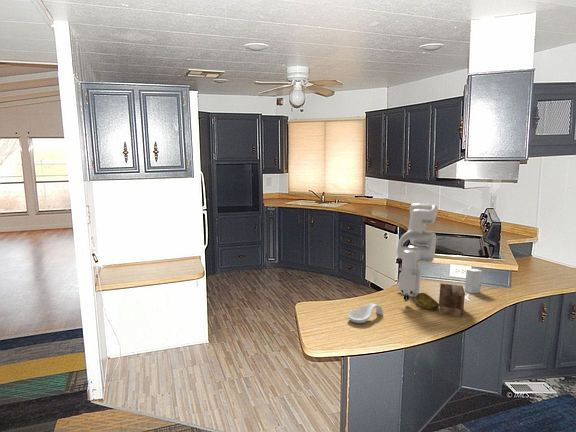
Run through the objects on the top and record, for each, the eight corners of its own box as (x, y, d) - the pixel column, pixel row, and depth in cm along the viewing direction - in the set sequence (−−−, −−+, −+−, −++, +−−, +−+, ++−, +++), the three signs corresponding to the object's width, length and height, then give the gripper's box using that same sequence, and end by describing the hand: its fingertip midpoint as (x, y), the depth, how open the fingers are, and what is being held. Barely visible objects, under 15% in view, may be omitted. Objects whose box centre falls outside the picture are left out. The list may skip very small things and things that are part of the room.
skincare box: (471, 293, 271) (473, 271, 269) (464, 290, 277) (466, 269, 275) (480, 292, 275) (483, 270, 272) (473, 289, 280) (475, 268, 278)
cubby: (439, 313, 237) (441, 290, 235) (438, 305, 251) (440, 283, 248) (462, 316, 233) (464, 293, 231) (460, 307, 247) (462, 285, 245)
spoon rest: (359, 328, 216) (360, 314, 215) (342, 320, 225) (343, 307, 224) (387, 317, 231) (388, 304, 230) (371, 310, 240) (371, 298, 239)
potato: (430, 312, 238) (431, 299, 237) (413, 305, 249) (414, 292, 248) (440, 310, 242) (441, 297, 241) (423, 303, 253) (424, 290, 252)
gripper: (394, 271, 245) (392, 301, 248) (421, 274, 240) (419, 304, 243) (395, 267, 252) (393, 297, 255) (421, 270, 247) (419, 300, 250)
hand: (406, 300), depth 249 cm, fingers closed
